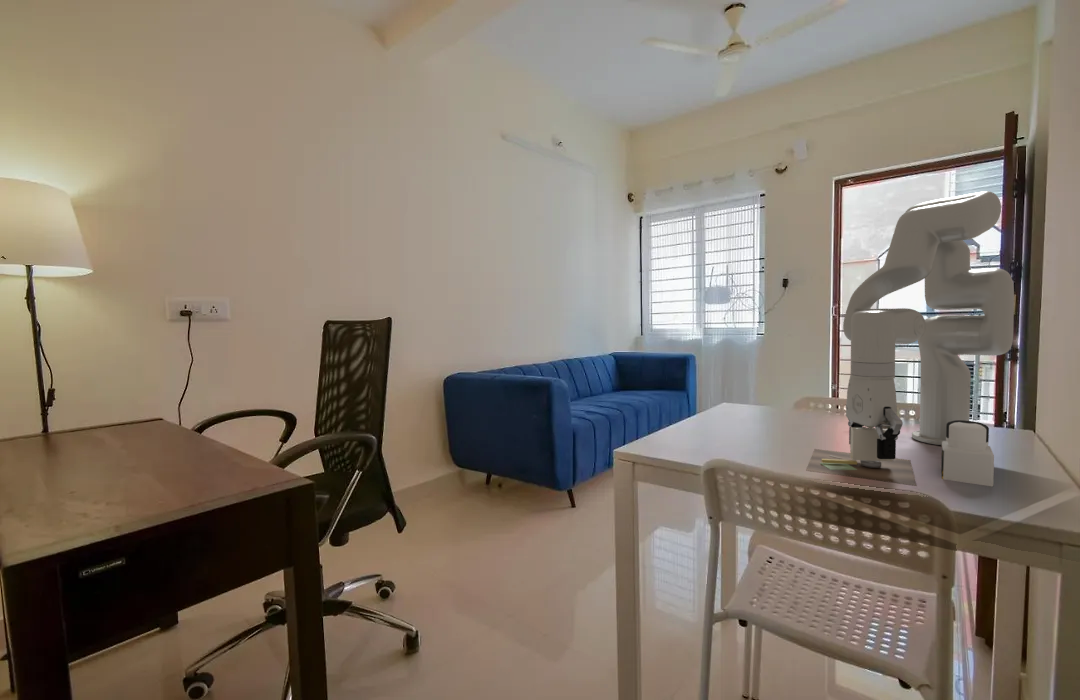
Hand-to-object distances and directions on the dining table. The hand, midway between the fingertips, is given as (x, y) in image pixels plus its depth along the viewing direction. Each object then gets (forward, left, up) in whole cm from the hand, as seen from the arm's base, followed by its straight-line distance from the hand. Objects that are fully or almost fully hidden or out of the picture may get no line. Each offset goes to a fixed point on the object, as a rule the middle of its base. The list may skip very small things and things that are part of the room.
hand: (871, 451), depth 99 cm
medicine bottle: (-1, +15, -5) cm, 16 cm away
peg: (+1, -3, -3) cm, 4 cm away
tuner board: (0, -2, -4) cm, 5 cm away
